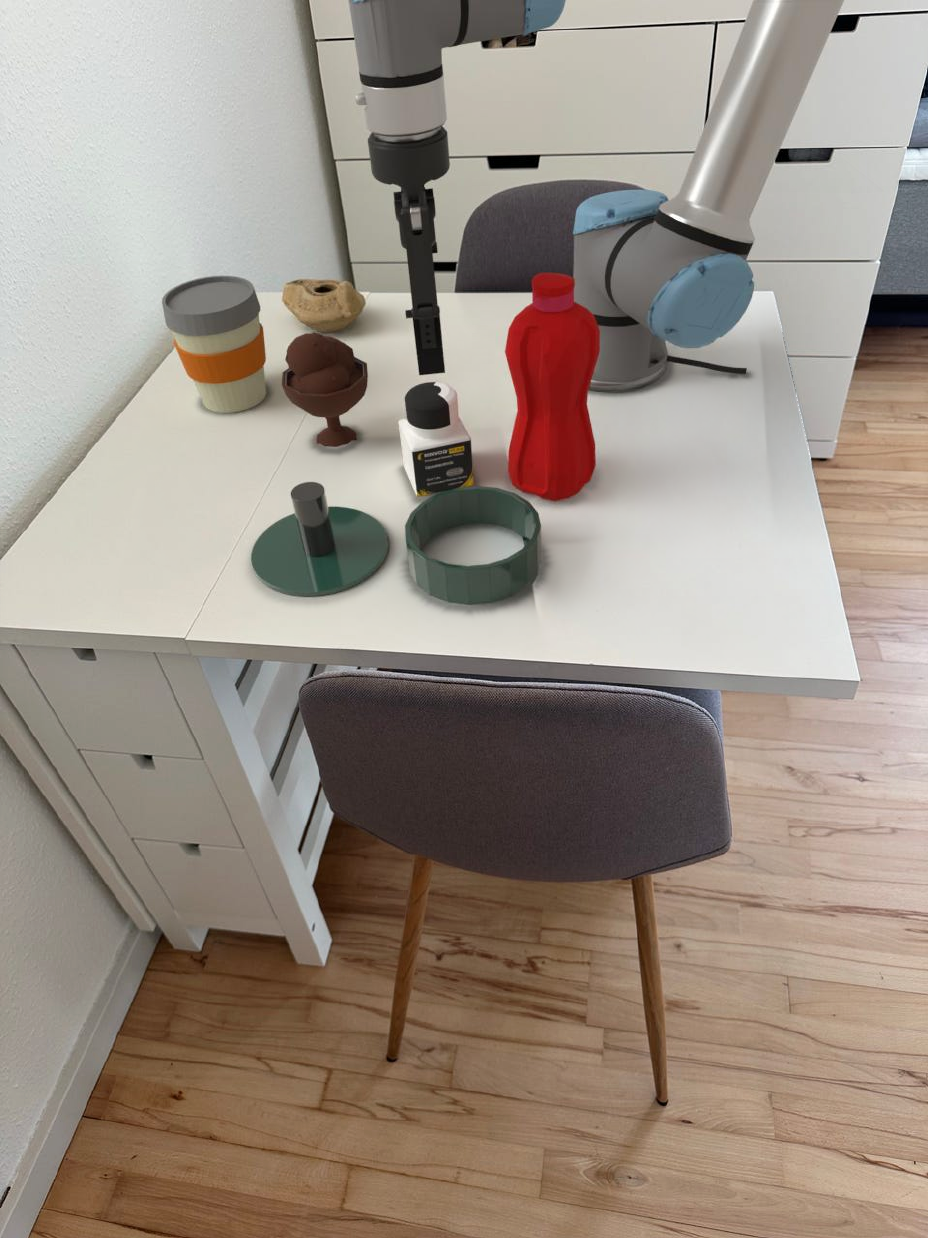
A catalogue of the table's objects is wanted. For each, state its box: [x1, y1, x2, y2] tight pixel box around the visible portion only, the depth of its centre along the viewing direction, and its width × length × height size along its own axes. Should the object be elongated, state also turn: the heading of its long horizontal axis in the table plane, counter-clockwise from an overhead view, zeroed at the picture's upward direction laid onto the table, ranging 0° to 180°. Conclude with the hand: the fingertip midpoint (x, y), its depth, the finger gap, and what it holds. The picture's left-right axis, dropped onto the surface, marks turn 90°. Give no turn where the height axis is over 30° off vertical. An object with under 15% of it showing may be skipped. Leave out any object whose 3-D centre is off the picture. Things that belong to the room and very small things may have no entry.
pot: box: [404, 485, 542, 606], centre depth 97 cm, size 14×14×5 cm
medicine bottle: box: [398, 381, 475, 497], centre depth 107 cm, size 7×7×12 cm
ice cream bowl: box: [281, 332, 369, 448], centre depth 113 cm, size 11×11×15 cm
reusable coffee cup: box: [161, 275, 267, 414], centre depth 123 cm, size 13×13×15 cm
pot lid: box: [250, 481, 389, 597], centre depth 98 cm, size 15×15×9 cm
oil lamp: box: [281, 278, 367, 333], centre depth 141 cm, size 11×15×8 cm
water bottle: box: [504, 272, 600, 502], centre depth 101 cm, size 9×11×25 cm
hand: (429, 342), depth 99 cm, fingers open, 13 cm apart
